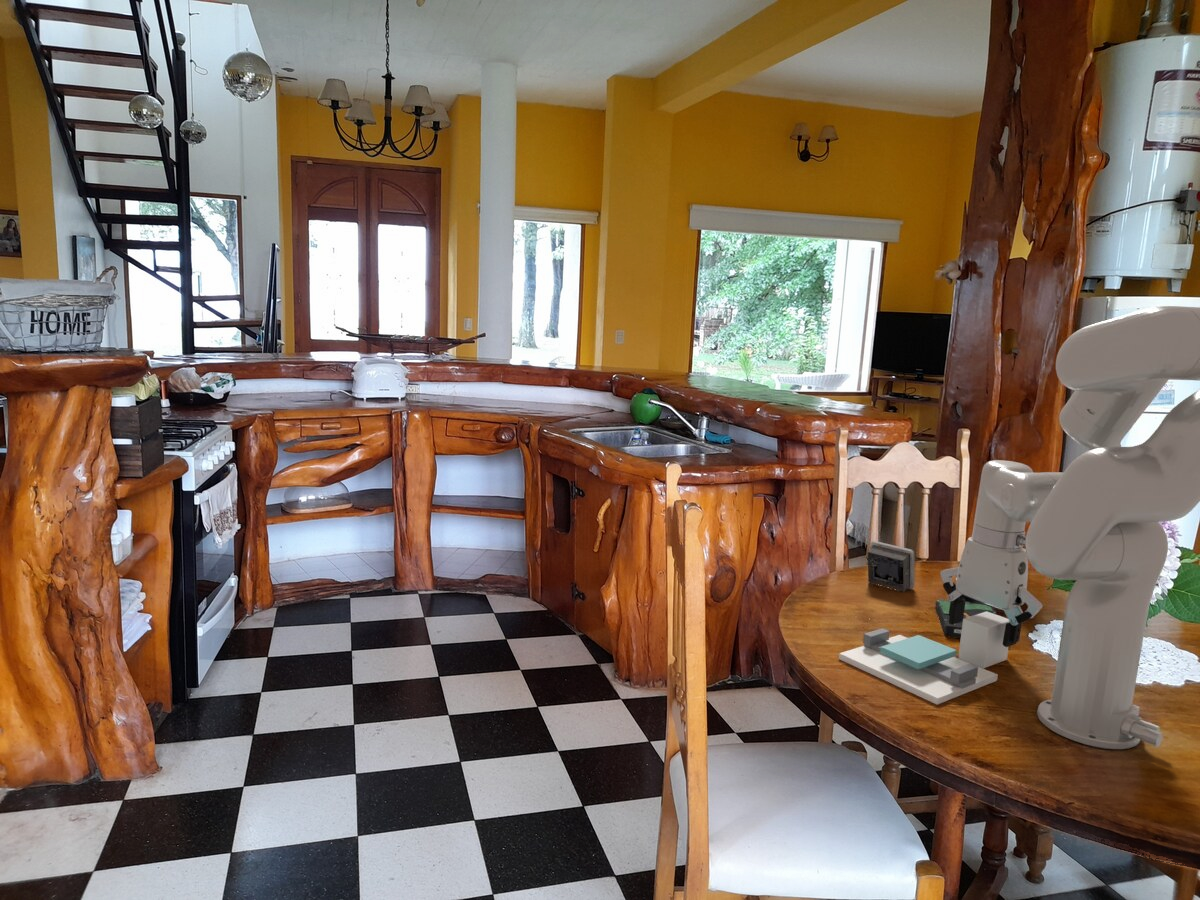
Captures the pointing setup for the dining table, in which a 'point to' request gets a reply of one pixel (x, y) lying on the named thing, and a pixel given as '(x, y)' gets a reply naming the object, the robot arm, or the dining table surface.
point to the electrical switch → (891, 566)
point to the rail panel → (917, 670)
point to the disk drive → (970, 610)
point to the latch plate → (918, 651)
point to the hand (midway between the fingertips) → (981, 633)
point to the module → (983, 639)
